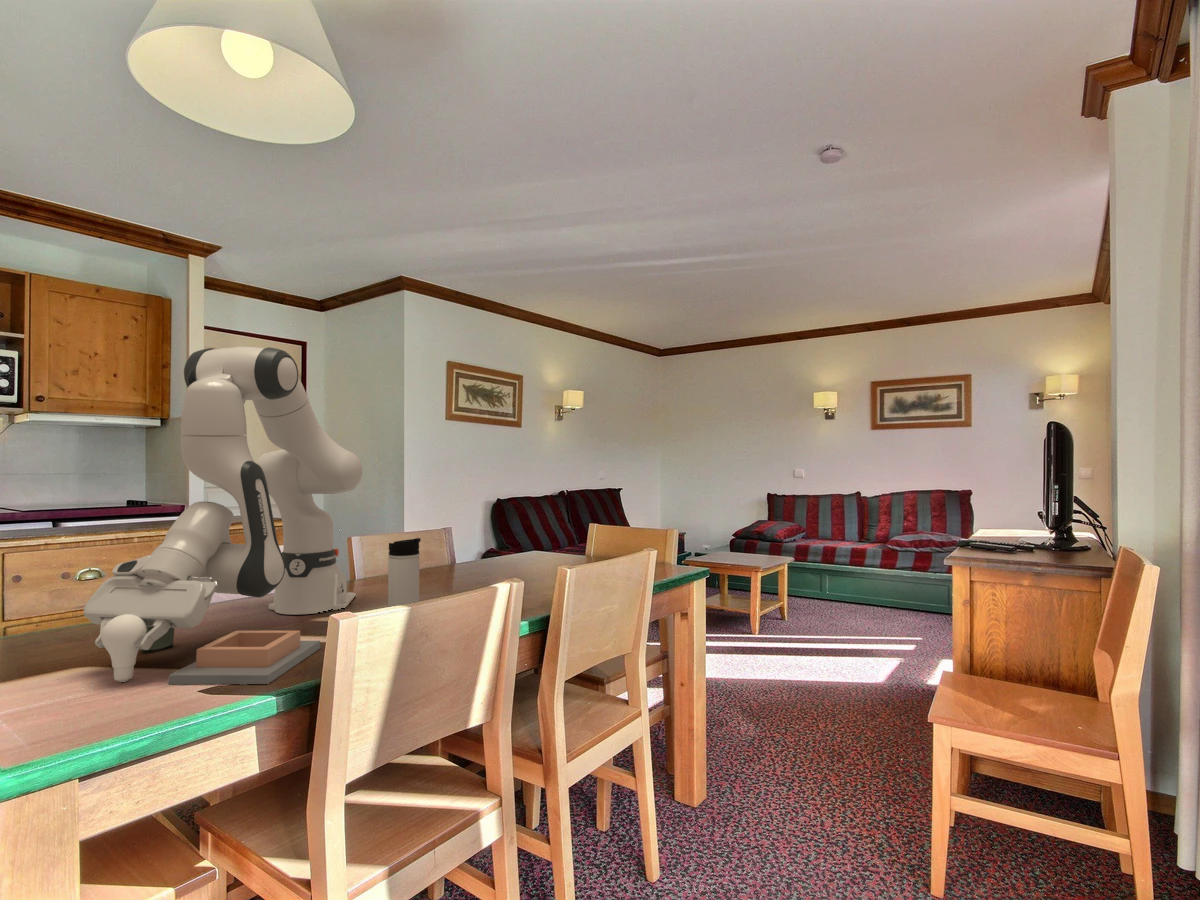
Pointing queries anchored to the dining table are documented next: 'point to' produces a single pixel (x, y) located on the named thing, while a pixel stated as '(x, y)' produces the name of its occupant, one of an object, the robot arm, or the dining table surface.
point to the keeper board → (246, 658)
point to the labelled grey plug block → (161, 641)
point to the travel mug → (403, 572)
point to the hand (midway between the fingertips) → (120, 647)
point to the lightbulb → (123, 643)
